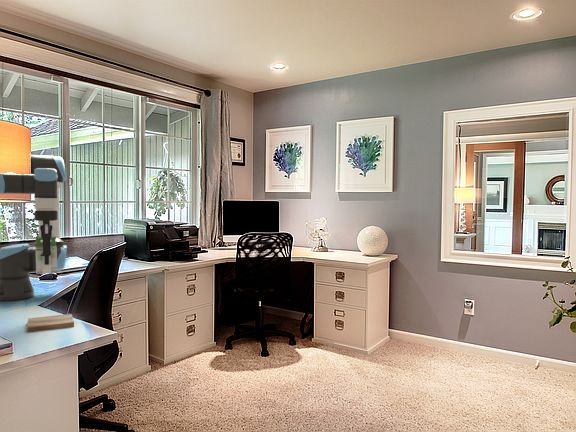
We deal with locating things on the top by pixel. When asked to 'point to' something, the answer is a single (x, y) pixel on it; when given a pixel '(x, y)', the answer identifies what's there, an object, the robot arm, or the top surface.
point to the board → (50, 322)
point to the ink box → (40, 251)
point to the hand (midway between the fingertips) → (46, 272)
